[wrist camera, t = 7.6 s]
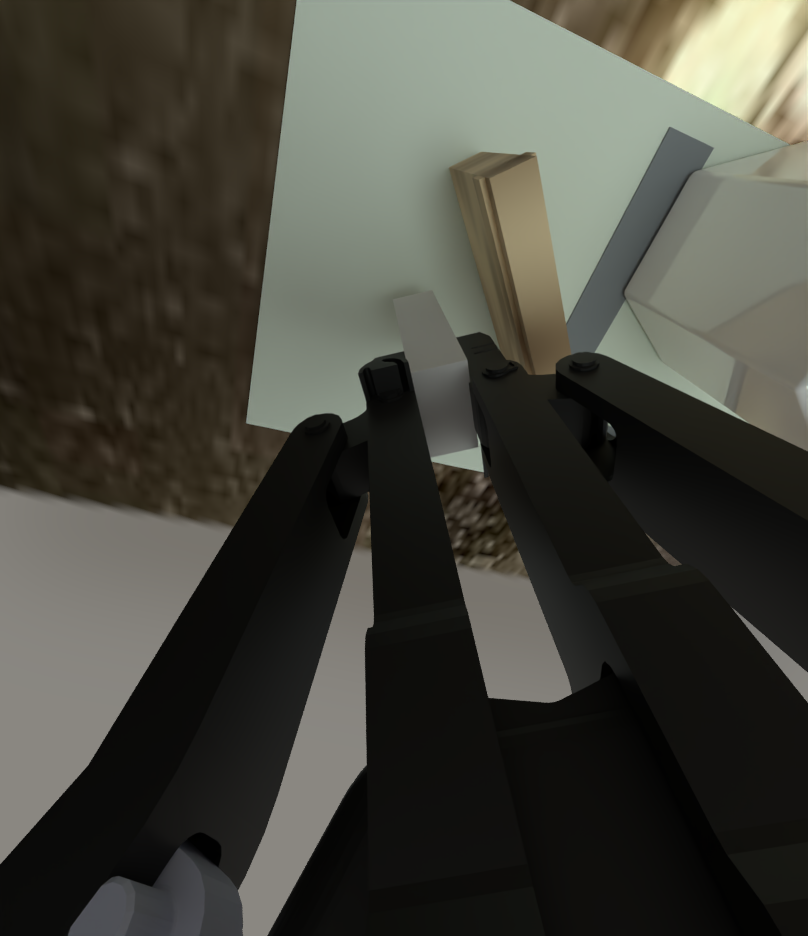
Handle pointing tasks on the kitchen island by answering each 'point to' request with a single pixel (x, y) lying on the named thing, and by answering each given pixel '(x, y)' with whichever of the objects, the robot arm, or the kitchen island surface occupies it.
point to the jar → (736, 288)
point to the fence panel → (514, 256)
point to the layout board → (433, 194)
